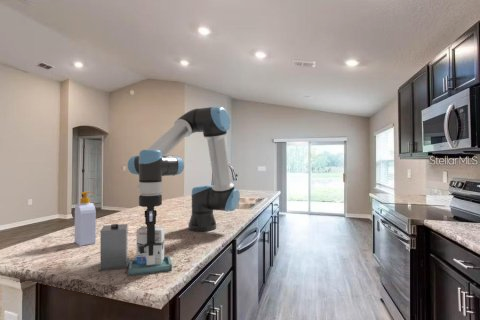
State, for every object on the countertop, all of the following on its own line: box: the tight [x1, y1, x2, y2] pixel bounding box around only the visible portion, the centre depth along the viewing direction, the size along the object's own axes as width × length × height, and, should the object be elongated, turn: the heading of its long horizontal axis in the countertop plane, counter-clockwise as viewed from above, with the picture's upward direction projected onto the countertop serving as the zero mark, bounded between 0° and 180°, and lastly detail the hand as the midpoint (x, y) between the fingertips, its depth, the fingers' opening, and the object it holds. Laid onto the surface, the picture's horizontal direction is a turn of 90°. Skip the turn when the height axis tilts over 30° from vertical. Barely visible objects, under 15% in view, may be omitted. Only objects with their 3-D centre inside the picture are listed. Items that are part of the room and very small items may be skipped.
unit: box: [98, 223, 130, 272], centre depth 98 cm, size 9×9×14 cm
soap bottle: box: [74, 191, 97, 247], centre depth 124 cm, size 9×7×23 cm
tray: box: [128, 255, 173, 277], centre depth 95 cm, size 14×10×2 cm
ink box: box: [136, 226, 165, 265], centre depth 95 cm, size 8×5×12 cm, turn 95°
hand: (150, 260), depth 95 cm, fingers closed on ink box, 6 cm apart
